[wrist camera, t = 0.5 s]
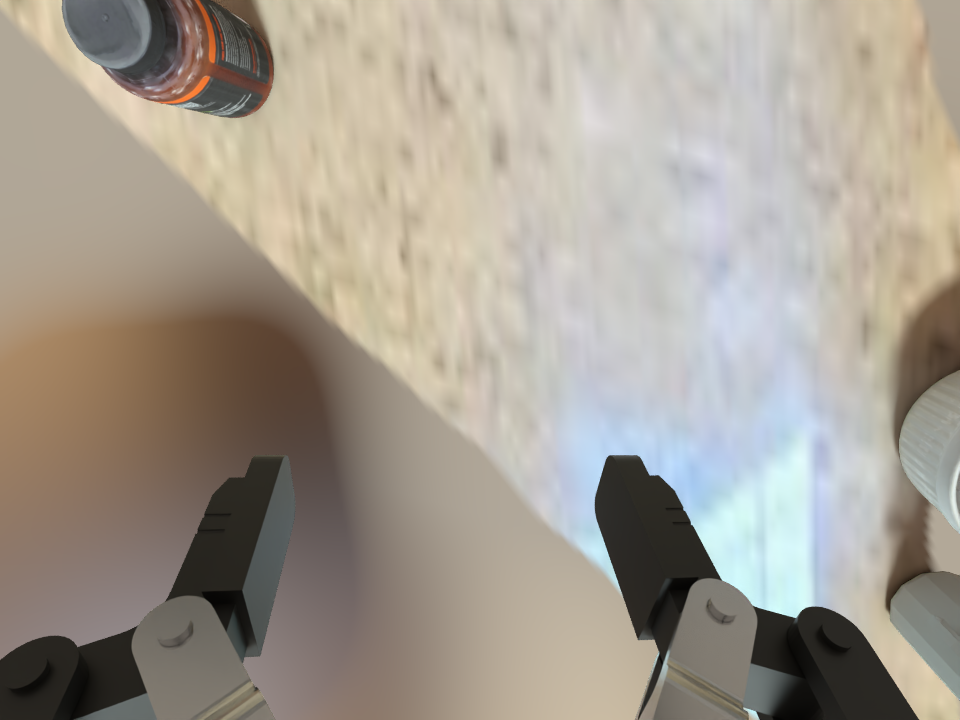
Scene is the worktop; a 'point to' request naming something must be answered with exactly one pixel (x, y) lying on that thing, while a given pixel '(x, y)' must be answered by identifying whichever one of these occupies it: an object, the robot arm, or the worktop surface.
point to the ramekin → (935, 446)
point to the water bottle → (932, 622)
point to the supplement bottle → (175, 52)
